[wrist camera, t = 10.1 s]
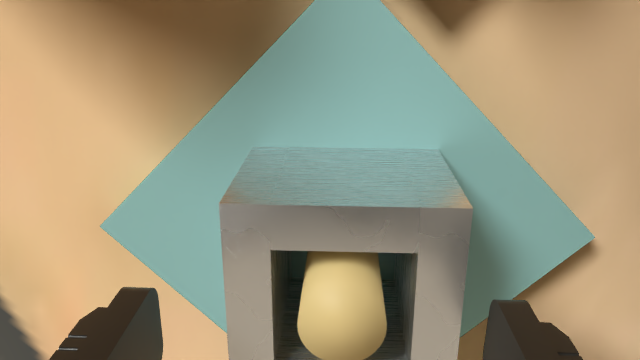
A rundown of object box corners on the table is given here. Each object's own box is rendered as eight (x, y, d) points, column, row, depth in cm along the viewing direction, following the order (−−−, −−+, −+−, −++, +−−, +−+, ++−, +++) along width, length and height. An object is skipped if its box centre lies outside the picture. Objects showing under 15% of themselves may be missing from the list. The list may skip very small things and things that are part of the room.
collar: (252, 146, 17) (218, 203, 13) (438, 149, 17) (473, 208, 13) (259, 305, 19) (232, 405, 15) (425, 309, 19) (451, 413, 14)
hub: (116, 209, 20) (5, 316, 13) (348, -33, 17) (350, -48, 10) (339, 399, 23) (337, 568, 16) (576, 219, 19) (696, 337, 13)
